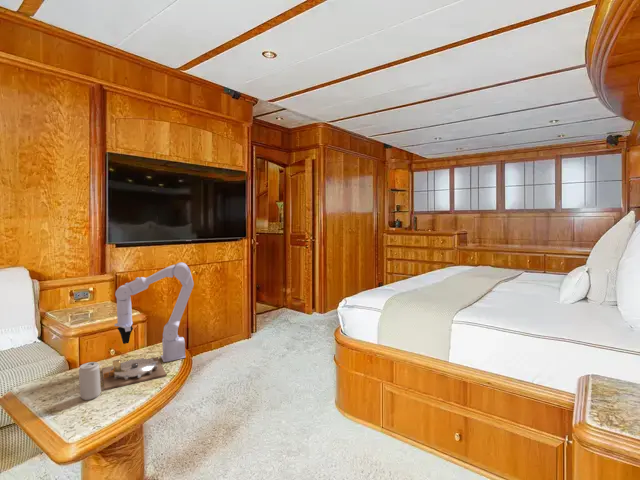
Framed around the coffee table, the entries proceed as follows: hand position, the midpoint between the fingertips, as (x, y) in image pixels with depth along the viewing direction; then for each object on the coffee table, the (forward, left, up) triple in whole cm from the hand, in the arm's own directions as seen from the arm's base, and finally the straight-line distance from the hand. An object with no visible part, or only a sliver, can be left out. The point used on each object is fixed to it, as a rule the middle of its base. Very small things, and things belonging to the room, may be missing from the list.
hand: (125, 343), depth 162 cm
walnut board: (-2, +12, -9) cm, 15 cm away
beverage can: (+14, +25, -10) cm, 30 cm away
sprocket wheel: (-2, +12, -8) cm, 15 cm away
